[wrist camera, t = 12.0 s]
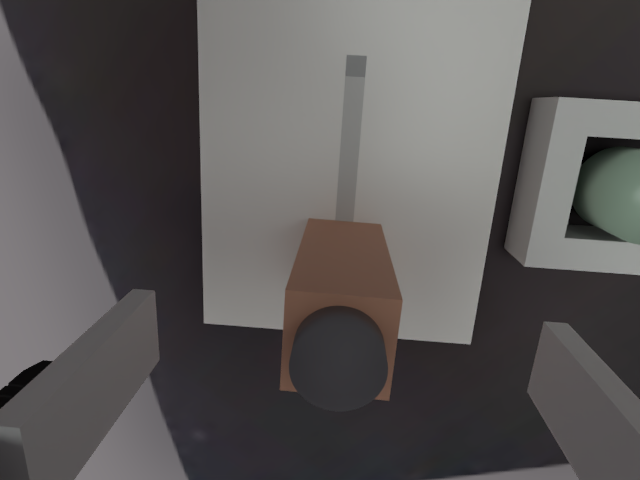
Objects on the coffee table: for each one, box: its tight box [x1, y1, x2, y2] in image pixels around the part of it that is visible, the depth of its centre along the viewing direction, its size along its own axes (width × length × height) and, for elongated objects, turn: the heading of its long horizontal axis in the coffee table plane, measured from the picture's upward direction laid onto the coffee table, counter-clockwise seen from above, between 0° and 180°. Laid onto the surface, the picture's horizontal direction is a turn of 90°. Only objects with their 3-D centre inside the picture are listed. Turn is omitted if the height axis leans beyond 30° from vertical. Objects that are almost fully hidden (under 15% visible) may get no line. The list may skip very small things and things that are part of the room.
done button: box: [572, 146, 640, 245], centre depth 21 cm, size 4×4×3 cm
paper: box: [197, 0, 531, 344], centre depth 24 cm, size 20×16×1 cm
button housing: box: [504, 97, 640, 275], centre depth 22 cm, size 8×8×3 cm
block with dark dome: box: [280, 218, 403, 412], centre depth 20 cm, size 4×4×11 cm
